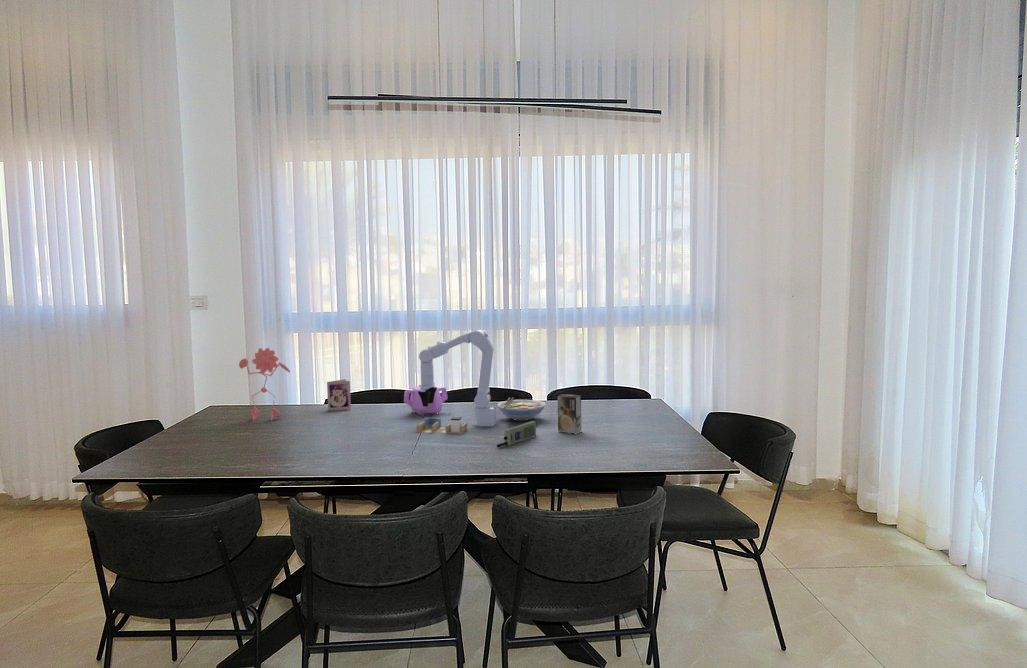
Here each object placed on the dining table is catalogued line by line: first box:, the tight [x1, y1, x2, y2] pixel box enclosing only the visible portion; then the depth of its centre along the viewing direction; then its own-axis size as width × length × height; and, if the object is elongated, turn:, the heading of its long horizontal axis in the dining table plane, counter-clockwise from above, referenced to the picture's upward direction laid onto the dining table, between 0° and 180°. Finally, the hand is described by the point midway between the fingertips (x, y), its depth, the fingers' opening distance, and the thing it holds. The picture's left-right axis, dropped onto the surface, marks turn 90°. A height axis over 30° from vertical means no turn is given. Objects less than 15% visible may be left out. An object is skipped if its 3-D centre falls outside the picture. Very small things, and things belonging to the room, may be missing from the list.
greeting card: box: [326, 378, 352, 412], centre depth 337 cm, size 11×7×15 cm, turn 104°
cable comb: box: [416, 417, 469, 435], centre depth 283 cm, size 20×11×5 cm, turn 80°
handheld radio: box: [496, 420, 537, 449], centre depth 265 cm, size 7×3×25 cm
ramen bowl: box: [497, 396, 546, 421], centre depth 307 cm, size 25×23×8 cm
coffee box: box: [556, 393, 583, 434], centre depth 280 cm, size 9×6×16 cm
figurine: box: [238, 347, 291, 422], centre depth 315 cm, size 15×26×35 cm, turn 86°
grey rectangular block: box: [450, 416, 463, 432], centre depth 281 cm, size 4×4×6 cm
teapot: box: [403, 385, 449, 416], centre depth 323 cm, size 19×18×15 cm
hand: (428, 404), depth 295 cm, fingers open, 7 cm apart
